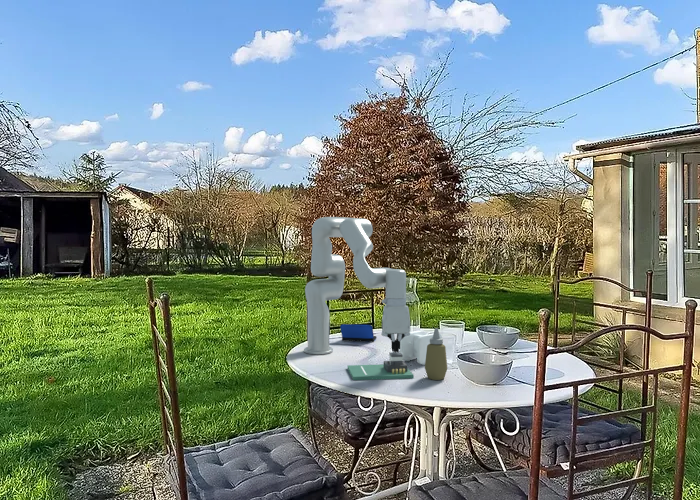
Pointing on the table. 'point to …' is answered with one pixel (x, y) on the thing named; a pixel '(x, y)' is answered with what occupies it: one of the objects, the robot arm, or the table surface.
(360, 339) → the laptop
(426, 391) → the table surface
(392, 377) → the board
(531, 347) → the table surface
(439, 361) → the squeeze bottle
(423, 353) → the cable organizer
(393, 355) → the plug
